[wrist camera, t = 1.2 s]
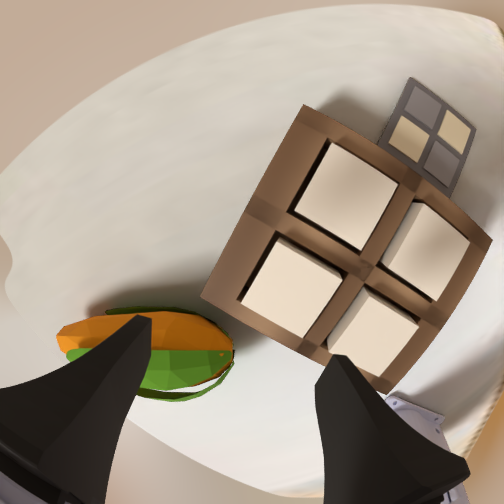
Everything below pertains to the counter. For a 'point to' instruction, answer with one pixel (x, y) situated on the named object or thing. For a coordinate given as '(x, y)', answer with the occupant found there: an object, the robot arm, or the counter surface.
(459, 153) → the card
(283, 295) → the button
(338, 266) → the button board
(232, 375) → the counter surface
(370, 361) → the button
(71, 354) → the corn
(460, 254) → the button
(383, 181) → the button
